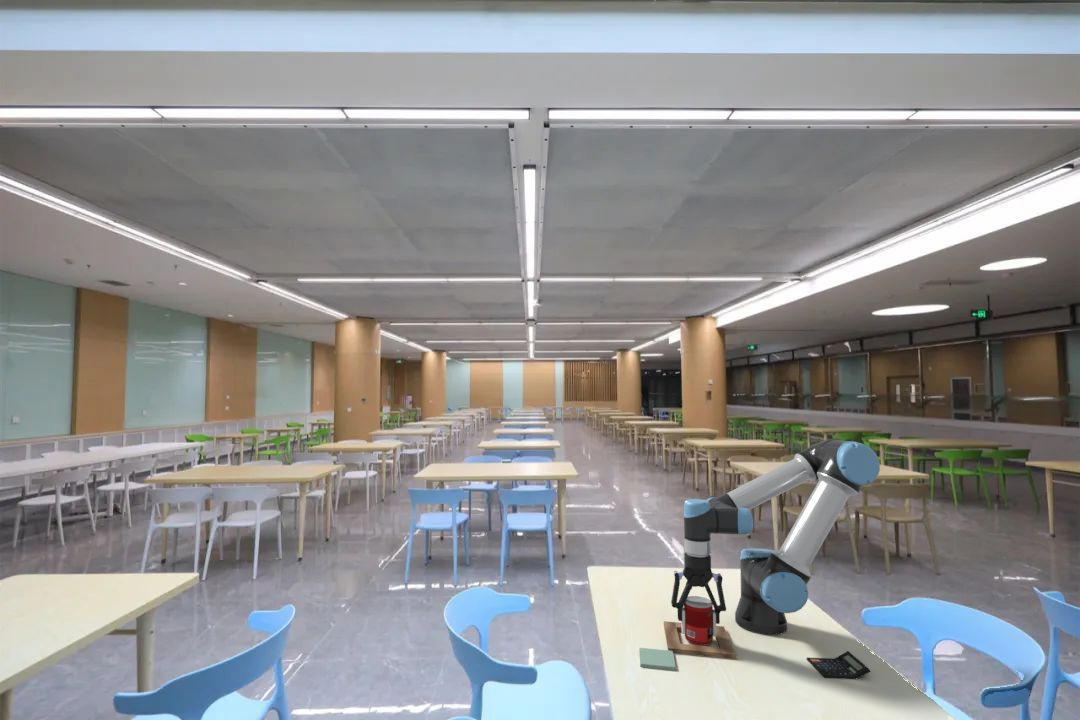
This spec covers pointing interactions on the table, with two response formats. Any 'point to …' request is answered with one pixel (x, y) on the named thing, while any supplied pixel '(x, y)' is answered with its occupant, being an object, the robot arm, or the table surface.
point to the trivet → (657, 659)
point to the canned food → (698, 620)
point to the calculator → (839, 666)
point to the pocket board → (721, 652)
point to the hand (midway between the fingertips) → (698, 633)
